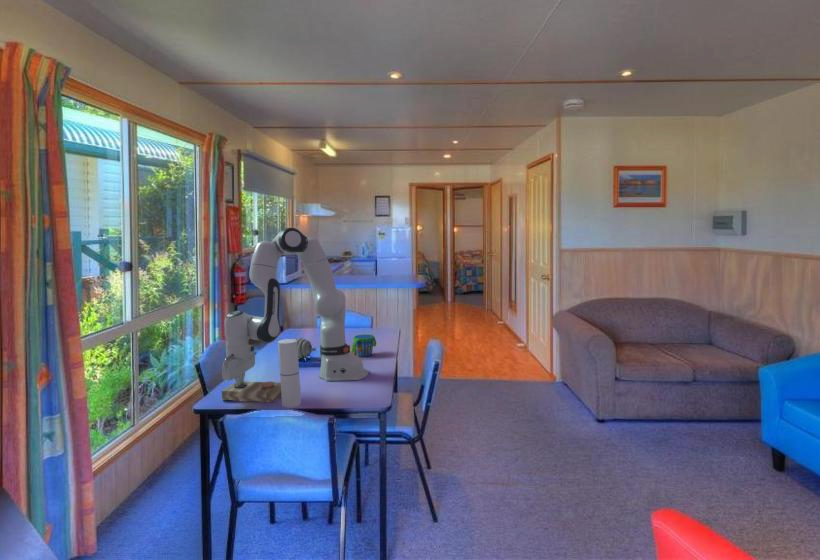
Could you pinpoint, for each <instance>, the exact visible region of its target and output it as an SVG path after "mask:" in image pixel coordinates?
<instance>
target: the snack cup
mask: <svg viewBox="0 0 820 560" xmlns="http://www.w3.org/2000/svg"><path fill="white" fill-rule="evenodd" d="M376 346H377V340H376V338H375V335H373V334H367V333H365V334H356V335H355V336H353V342H352V347H351V349H352V353H357V354H356V356H357V357H358V358H368V357H370V356H373V348H374V347H376Z"/></svg>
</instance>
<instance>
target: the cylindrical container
mask: <svg viewBox="0 0 820 560" xmlns="http://www.w3.org/2000/svg"><path fill="white" fill-rule="evenodd" d="M296 339H297V338H286V339H281V340H278V341H277V347H278V349H277V350H278V351H277V352H278V364H279V365H278V366H279V377H280V383H281V395H282V396H281V405H282V407H283V408H295V407H299V406H300V405H301V404H302V397H301V383H300V367H299V359H298V348H297V340H296Z"/></svg>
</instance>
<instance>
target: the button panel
mask: <svg viewBox="0 0 820 560" xmlns="http://www.w3.org/2000/svg"><path fill="white" fill-rule="evenodd" d="M264 382H265V381H244V383H247V386H246V387H244V388H235V387H234V385H235V384H236V381H235V382H234V383H232V384H230V385H229V386H227V387H226V388H224V389H222V390H221V400H235V401H234V402H247V401H259V402H258V403H275V402H276V401H277V400H279V399H280V398H282V395H281V382H278V381H277V382H275V381H273V382H274V385H273V386H272V388H271V389H264V387H262V383H264ZM237 400H238V401H237ZM240 400H241V401H240Z"/></svg>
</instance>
